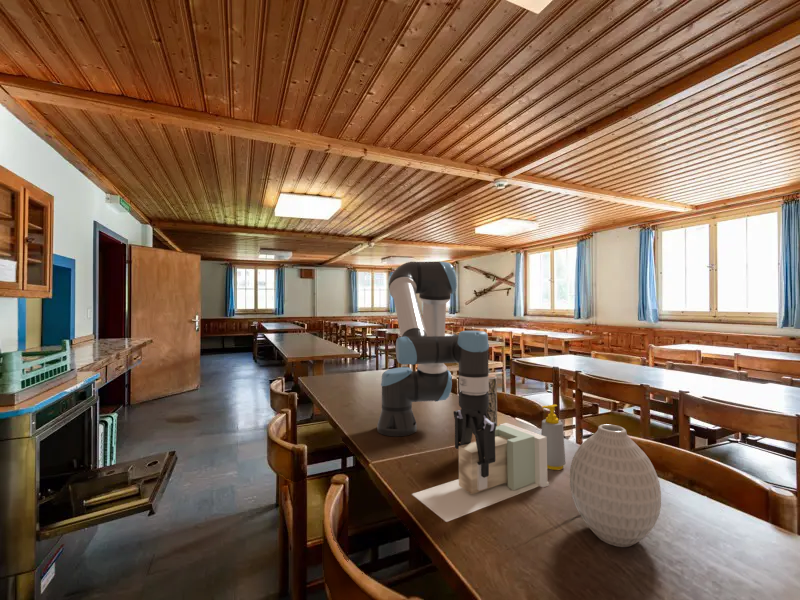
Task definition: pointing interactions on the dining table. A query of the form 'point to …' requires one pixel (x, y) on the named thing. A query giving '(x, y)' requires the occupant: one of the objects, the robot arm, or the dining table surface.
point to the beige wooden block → (470, 459)
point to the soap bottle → (554, 440)
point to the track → (459, 502)
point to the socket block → (518, 456)
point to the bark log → (492, 399)
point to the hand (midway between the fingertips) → (474, 483)
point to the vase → (615, 487)
